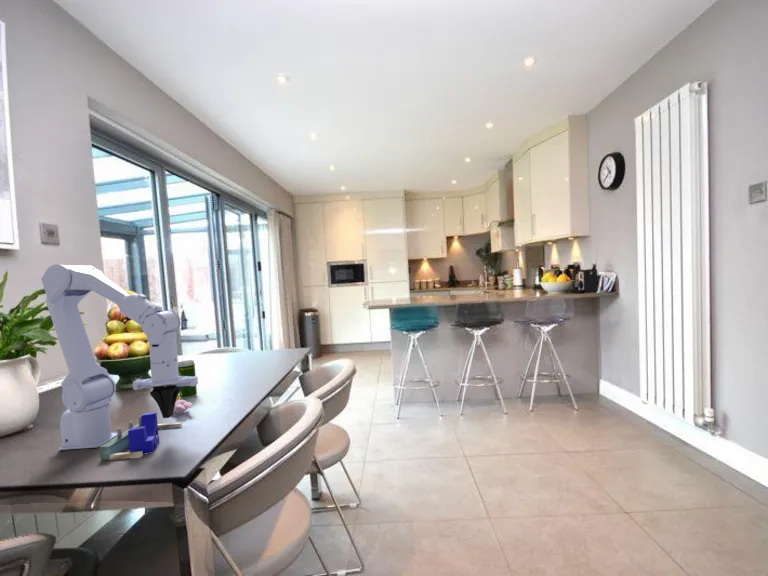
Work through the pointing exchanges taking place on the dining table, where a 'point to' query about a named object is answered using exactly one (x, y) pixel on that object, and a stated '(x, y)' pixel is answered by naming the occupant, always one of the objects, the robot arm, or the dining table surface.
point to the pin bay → (125, 443)
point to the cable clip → (144, 434)
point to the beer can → (187, 370)
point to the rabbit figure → (181, 405)
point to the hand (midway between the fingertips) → (168, 416)
